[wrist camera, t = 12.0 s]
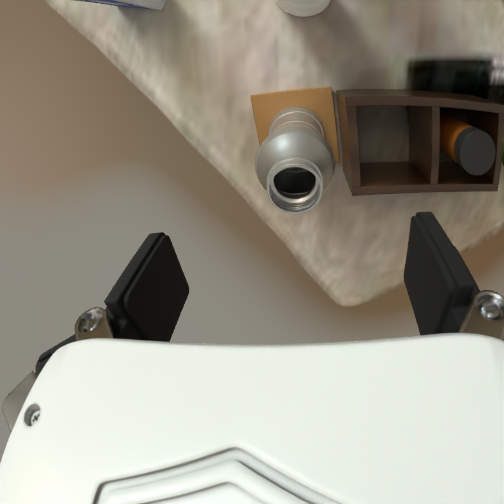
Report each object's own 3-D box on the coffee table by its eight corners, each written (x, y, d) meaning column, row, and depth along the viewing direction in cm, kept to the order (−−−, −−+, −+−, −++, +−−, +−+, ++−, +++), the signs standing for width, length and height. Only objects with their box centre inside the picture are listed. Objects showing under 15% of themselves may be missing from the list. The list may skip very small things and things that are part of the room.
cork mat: (250, 95, 34) (250, 96, 34) (330, 86, 32) (331, 87, 32) (264, 167, 40) (264, 168, 40) (338, 160, 38) (339, 161, 37)
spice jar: (426, 111, 31) (460, 129, 23) (458, 113, 30) (497, 132, 22) (426, 148, 34) (458, 175, 26) (457, 149, 33) (493, 176, 25)
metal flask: (330, 141, 36) (357, 215, 20) (282, 159, 38) (268, 243, 22) (311, 95, 33) (326, 127, 17) (261, 115, 35) (227, 166, 19)
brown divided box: (335, 90, 32) (344, 97, 26) (472, 95, 28) (504, 106, 22) (343, 171, 38) (352, 196, 32) (470, 168, 34) (497, 191, 28)
